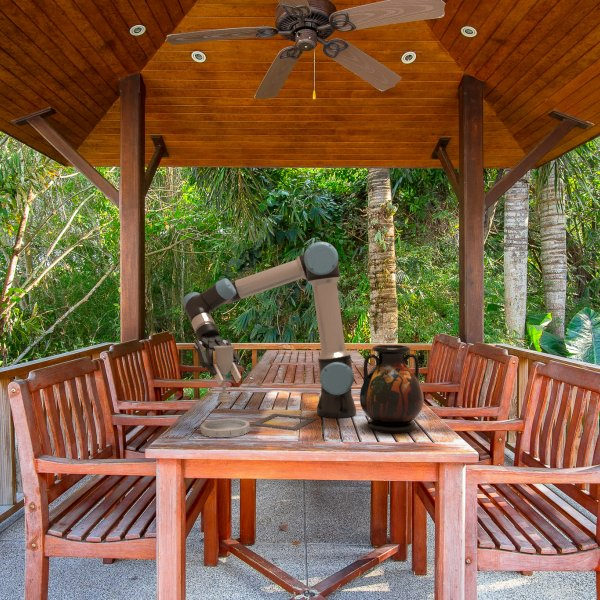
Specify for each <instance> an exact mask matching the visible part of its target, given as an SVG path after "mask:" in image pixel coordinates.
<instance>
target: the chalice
mask: <svg viewBox="0 0 600 600" xmlns="http://www.w3.org/2000/svg"><path fill="white" fill-rule="evenodd" d="M214 349H215V351H214V357H215V358H214V361H215V364H216V365H217V367H218V369H219V371H220V373H221V376H222V378H223V381H222V384H221V388H222V391H221V393H219V394H218V396H217V399H216V401H217V402H219V403H228V402H229V403H230V402H232V398H231V395H230V393H228V392H227V390H226V388H227V387H228V385H227V384H226V383H227V382H226V381H227V379H226V376H227V375H228V374H229V373H230V372H231V370H230V368H231V366H232V363H233V349H234V350H235V345H232V346H214Z"/></svg>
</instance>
